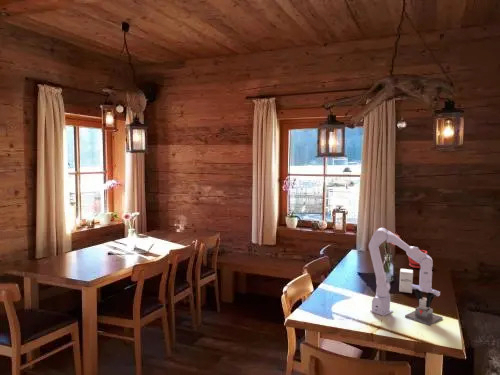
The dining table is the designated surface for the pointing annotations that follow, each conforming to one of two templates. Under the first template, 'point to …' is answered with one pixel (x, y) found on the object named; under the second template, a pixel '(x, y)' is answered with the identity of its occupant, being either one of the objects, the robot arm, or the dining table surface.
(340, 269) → the dining table surface
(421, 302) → the column
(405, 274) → the supplement box
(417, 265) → the plant pot
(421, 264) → the robot arm
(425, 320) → the stand base
